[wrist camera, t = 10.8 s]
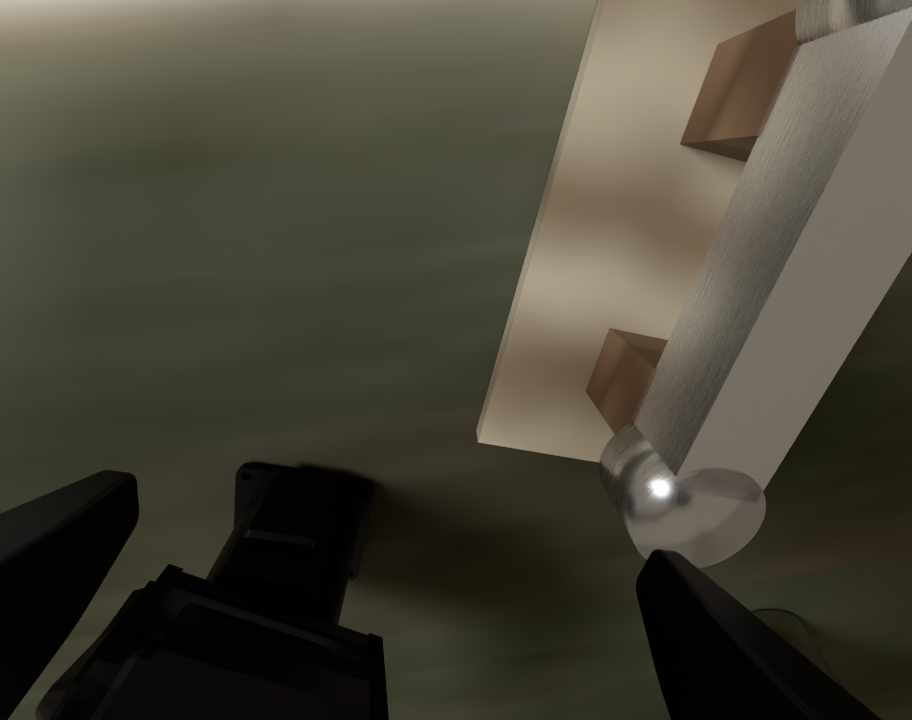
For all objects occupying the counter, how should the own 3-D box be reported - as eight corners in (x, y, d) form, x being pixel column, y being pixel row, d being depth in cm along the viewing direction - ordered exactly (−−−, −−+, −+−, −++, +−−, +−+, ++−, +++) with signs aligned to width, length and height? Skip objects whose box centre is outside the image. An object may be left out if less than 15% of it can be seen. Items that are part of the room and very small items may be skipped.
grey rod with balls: (680, 511, 17) (727, 577, 14) (583, 495, 16) (613, 561, 14) (1004, -88, 10) (1217, -185, 7) (854, -146, 10) (1023, -272, 7)
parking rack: (684, 466, 22) (749, 542, 18) (476, 430, 21) (487, 503, 16) (933, -13, 15) (1158, -96, 10) (631, -118, 13) (734, -269, 9)
